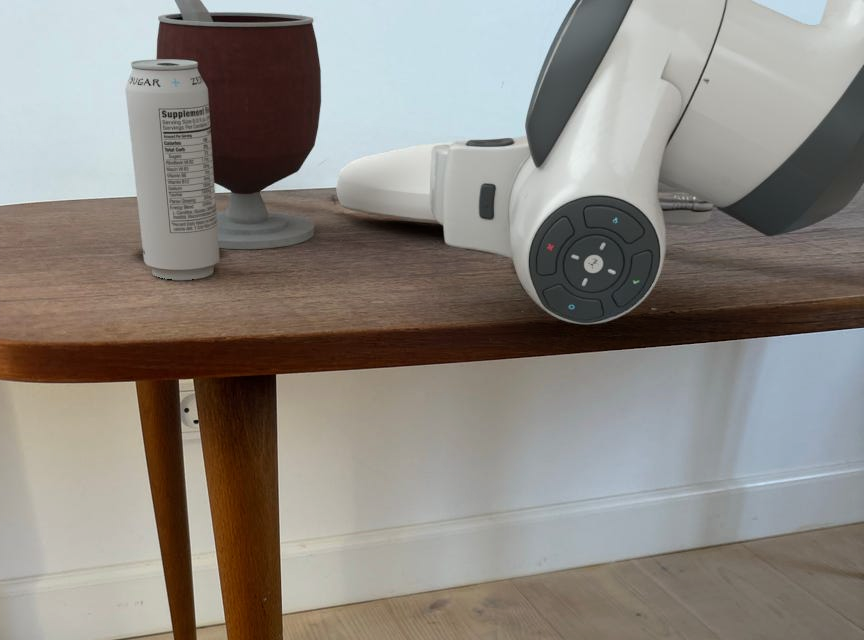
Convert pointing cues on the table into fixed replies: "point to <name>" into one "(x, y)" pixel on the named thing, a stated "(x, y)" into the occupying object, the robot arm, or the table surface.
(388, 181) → the plate
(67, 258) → the table surface
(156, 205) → the energy drink can
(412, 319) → the table surface
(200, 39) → the mate gourd
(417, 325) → the table surface
